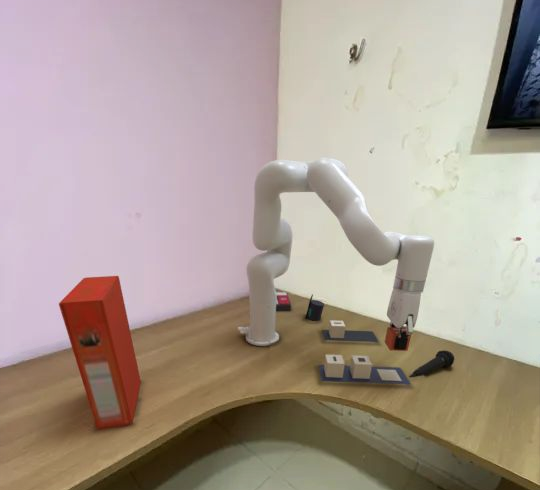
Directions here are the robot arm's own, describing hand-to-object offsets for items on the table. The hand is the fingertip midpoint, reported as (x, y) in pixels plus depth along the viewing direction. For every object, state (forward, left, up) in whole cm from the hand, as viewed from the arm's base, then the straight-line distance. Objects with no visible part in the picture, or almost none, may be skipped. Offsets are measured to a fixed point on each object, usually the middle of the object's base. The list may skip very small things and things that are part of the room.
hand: (396, 343), depth 90 cm
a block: (-12, +26, -11) cm, 31 cm away
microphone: (+14, +5, -12) cm, 19 cm away
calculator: (-35, +58, -12) cm, 69 cm away
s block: (0, 0, -1) cm, 1 cm away
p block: (-9, 0, -11) cm, 14 cm away
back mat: (-7, +26, -12) cm, 29 cm away
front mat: (-8, 0, -12) cm, 14 cm away
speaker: (-19, +42, -12) cm, 48 cm away
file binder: (-75, -17, -12) cm, 78 cm away
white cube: (-17, 0, -11) cm, 20 cm away
